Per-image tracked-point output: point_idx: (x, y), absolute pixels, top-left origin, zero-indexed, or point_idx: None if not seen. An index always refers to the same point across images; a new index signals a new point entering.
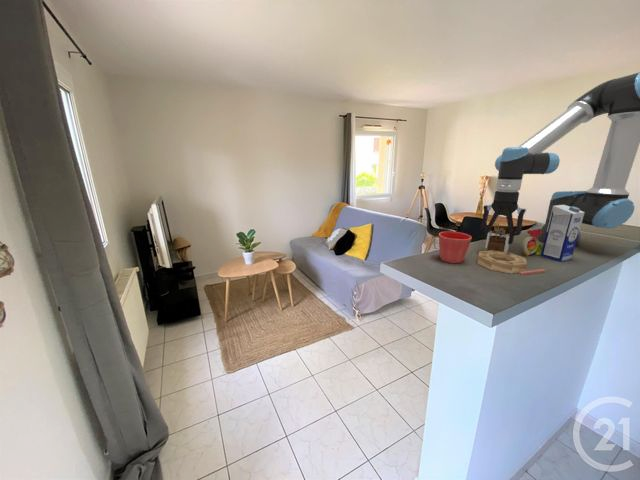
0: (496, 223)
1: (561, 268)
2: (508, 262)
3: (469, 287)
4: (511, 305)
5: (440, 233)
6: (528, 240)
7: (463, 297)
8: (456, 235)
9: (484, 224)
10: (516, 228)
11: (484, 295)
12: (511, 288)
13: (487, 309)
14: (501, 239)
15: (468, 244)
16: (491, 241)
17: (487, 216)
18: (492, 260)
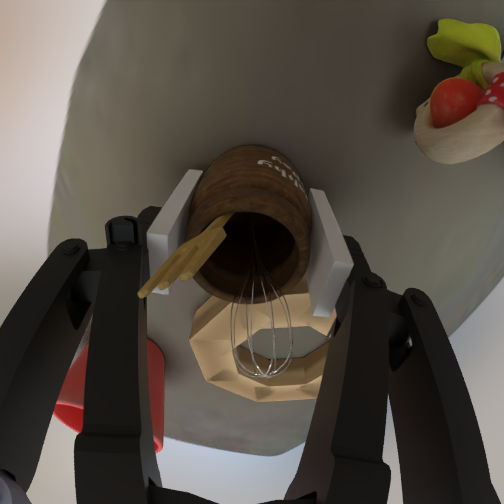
0: (160, 283)
1: (488, 246)
2: (306, 389)
3: (233, 435)
4: (297, 445)
5: (60, 419)
6: (474, 156)
7: (234, 449)
8: (80, 395)
9: (79, 340)
10: (388, 384)
11: (260, 442)
12: (304, 420)
13: (268, 455)
14: (275, 298)
15: (163, 426)
16: (209, 265)
17: (29, 393)
18: (256, 394)
